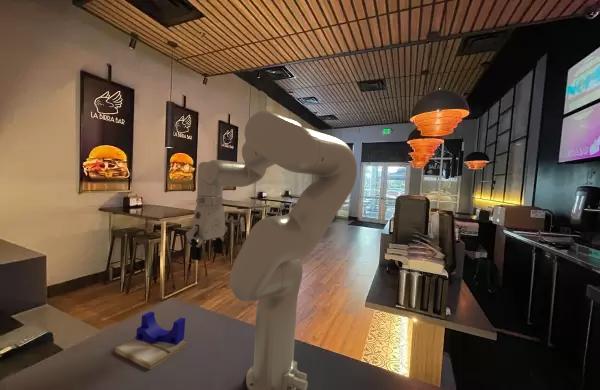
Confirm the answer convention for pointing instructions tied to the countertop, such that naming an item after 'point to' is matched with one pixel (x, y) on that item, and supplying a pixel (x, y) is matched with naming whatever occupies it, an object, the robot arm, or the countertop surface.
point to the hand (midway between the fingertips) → (207, 256)
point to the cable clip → (160, 330)
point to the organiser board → (148, 351)
